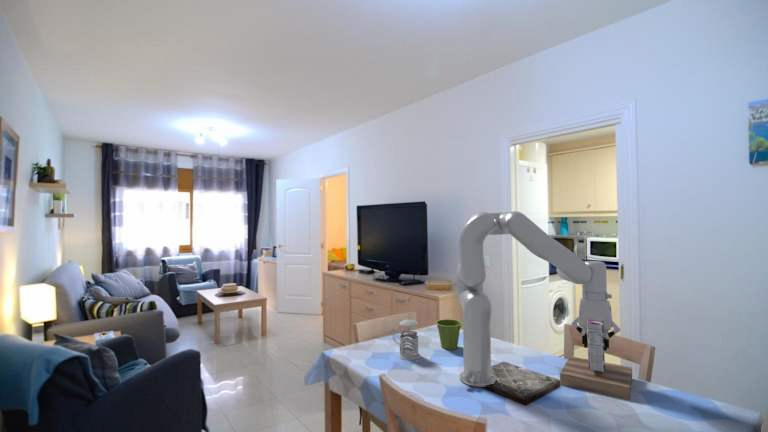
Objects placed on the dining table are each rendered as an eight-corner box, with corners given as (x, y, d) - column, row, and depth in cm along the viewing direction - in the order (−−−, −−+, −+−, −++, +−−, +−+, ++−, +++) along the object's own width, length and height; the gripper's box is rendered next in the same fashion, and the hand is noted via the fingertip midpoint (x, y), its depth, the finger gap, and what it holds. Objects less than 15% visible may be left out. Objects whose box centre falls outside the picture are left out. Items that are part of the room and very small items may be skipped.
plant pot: (431, 345, 171) (430, 321, 172) (452, 341, 176) (452, 318, 177) (445, 353, 161) (445, 327, 161) (468, 349, 166) (467, 323, 166)
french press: (421, 359, 153) (420, 299, 154) (393, 360, 153) (392, 299, 154) (419, 351, 163) (419, 294, 164) (393, 352, 163) (392, 294, 164)
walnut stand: (629, 400, 116) (629, 387, 116) (560, 384, 128) (560, 373, 128) (632, 378, 133) (631, 367, 133) (570, 366, 144) (570, 356, 144)
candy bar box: (587, 359, 137) (586, 315, 137) (603, 362, 134) (602, 316, 135) (588, 370, 127) (587, 322, 127) (605, 373, 124) (604, 323, 125)
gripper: (623, 297, 129) (625, 349, 129) (569, 292, 139) (570, 341, 139) (622, 300, 123) (623, 356, 123) (565, 295, 133) (566, 346, 132)
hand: (595, 347), depth 131 cm, fingers closed on candy bar box, 5 cm apart
